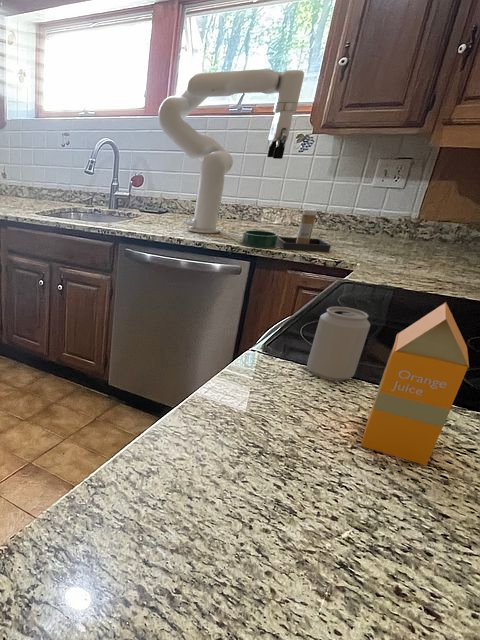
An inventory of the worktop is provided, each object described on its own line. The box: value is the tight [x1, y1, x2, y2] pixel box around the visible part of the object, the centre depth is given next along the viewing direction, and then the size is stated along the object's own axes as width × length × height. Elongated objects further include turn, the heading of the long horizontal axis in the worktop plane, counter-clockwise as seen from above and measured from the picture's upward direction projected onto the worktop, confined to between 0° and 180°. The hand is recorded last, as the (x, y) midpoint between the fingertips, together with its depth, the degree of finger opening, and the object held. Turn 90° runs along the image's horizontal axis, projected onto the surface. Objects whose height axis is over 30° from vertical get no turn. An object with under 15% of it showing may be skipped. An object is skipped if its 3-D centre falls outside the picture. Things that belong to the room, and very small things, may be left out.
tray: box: [276, 236, 332, 253], centre depth 195 cm, size 15×12×2 cm
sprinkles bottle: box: [296, 208, 318, 244], centre depth 193 cm, size 5×5×14 cm
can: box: [306, 306, 371, 382], centre depth 93 cm, size 8×8×12 cm
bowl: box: [241, 229, 279, 249], centre depth 198 cm, size 12×12×4 cm
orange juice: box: [360, 301, 470, 466], centre depth 71 cm, size 8×9×20 cm
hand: (274, 157), depth 201 cm, fingers open, 9 cm apart
